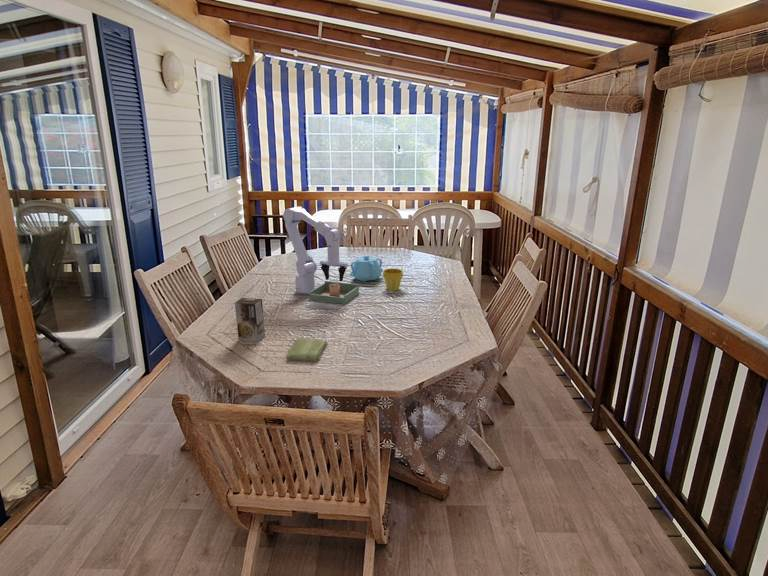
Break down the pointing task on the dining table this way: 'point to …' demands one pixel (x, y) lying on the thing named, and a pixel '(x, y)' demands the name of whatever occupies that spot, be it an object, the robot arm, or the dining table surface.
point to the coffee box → (250, 319)
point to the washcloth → (306, 349)
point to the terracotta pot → (334, 290)
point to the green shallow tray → (323, 294)
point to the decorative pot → (366, 268)
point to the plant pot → (392, 278)
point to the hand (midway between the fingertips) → (334, 280)
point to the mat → (320, 305)
